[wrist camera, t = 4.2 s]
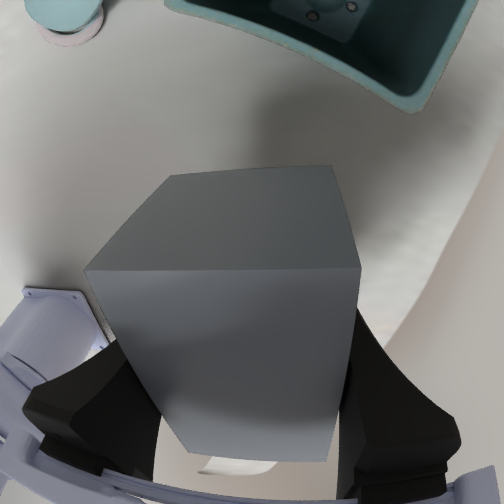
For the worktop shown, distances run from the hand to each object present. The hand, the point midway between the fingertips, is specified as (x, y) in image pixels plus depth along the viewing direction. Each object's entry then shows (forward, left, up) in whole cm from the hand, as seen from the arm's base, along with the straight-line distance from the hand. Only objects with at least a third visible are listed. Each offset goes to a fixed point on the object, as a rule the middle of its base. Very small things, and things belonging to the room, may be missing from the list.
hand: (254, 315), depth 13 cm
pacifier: (-11, +16, -10) cm, 22 cm away
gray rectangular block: (0, 0, -2) cm, 2 cm away
